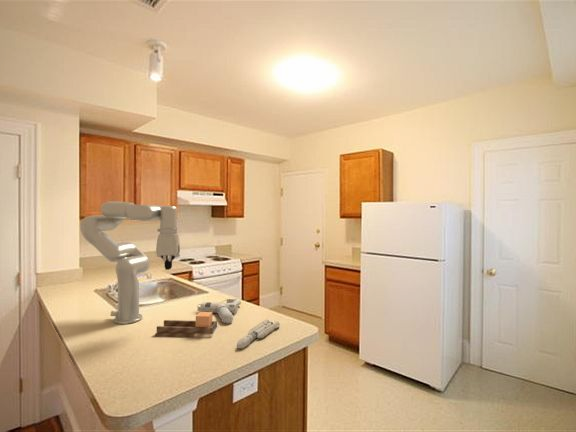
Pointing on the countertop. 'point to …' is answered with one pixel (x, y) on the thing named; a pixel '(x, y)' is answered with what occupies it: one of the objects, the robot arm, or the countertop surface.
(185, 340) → the countertop surface
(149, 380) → the countertop surface
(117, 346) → the countertop surface
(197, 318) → the block
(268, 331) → the rocket model
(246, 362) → the countertop surface
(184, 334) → the chute
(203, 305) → the gun
